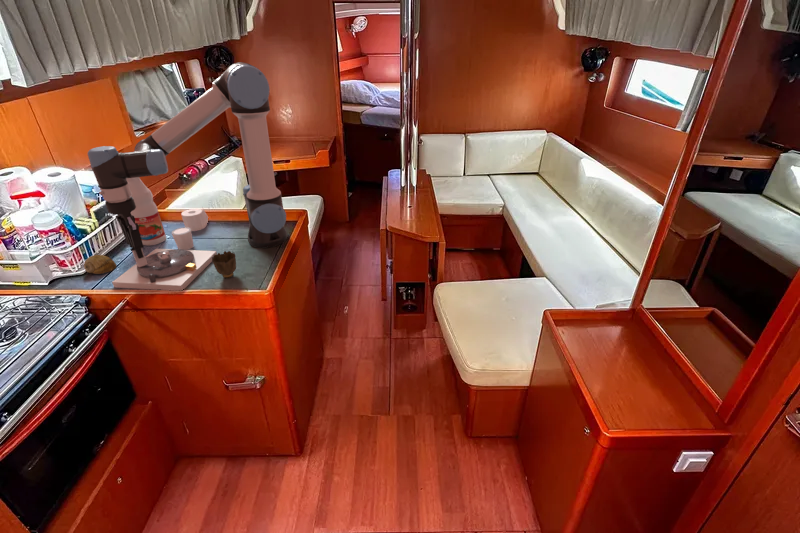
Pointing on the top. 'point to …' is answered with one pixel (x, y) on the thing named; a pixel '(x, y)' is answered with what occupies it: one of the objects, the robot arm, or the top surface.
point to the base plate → (167, 283)
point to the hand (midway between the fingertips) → (142, 265)
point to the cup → (225, 263)
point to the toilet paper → (195, 219)
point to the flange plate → (167, 263)
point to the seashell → (99, 264)
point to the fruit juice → (146, 213)
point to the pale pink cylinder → (183, 238)
